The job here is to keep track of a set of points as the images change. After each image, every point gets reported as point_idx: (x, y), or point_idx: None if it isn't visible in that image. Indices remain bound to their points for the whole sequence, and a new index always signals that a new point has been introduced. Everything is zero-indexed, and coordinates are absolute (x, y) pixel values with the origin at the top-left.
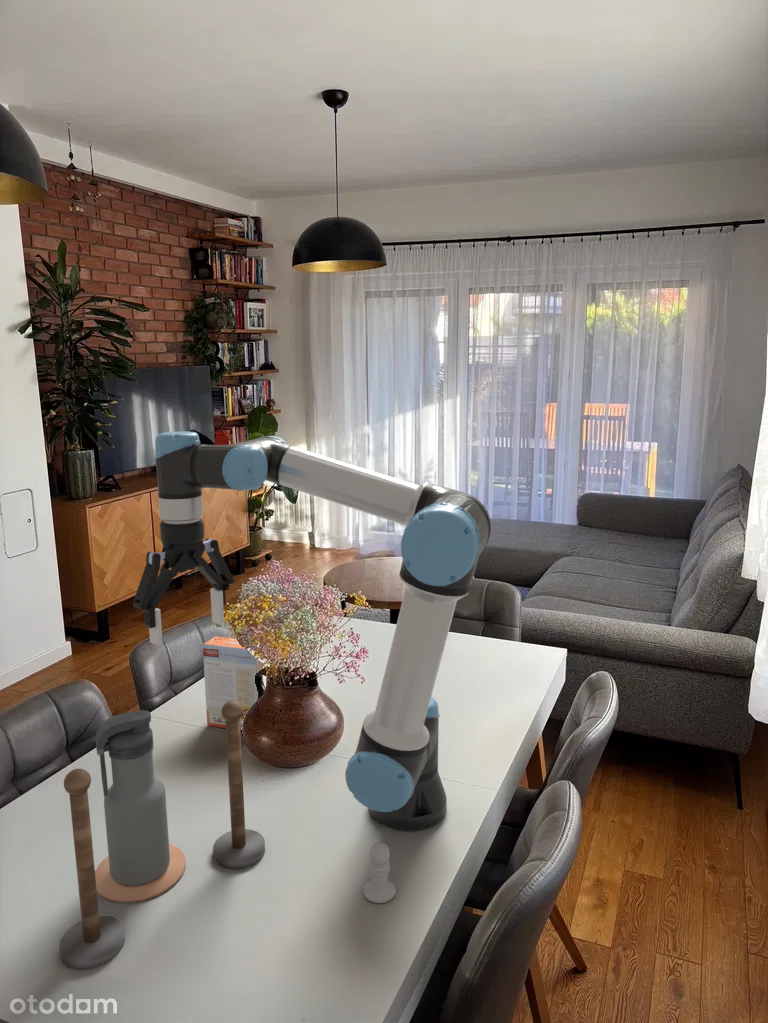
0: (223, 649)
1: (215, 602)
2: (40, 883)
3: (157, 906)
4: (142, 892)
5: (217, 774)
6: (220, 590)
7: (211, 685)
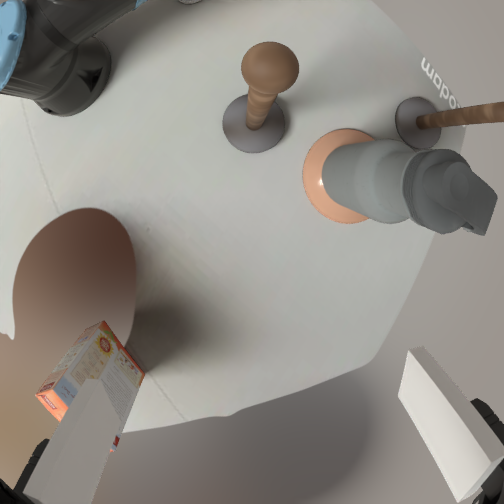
0: None
1: (80, 471)
2: (412, 234)
3: (360, 118)
4: (365, 141)
5: (183, 281)
6: (33, 501)
7: (124, 402)
